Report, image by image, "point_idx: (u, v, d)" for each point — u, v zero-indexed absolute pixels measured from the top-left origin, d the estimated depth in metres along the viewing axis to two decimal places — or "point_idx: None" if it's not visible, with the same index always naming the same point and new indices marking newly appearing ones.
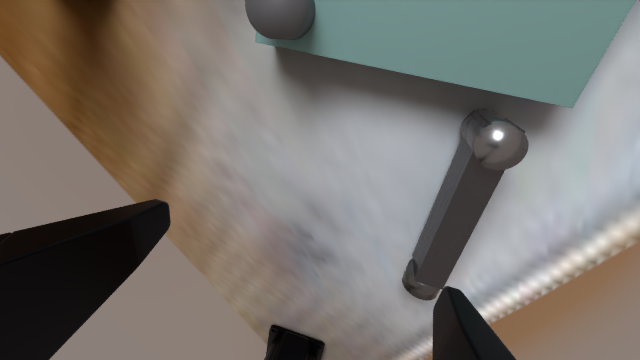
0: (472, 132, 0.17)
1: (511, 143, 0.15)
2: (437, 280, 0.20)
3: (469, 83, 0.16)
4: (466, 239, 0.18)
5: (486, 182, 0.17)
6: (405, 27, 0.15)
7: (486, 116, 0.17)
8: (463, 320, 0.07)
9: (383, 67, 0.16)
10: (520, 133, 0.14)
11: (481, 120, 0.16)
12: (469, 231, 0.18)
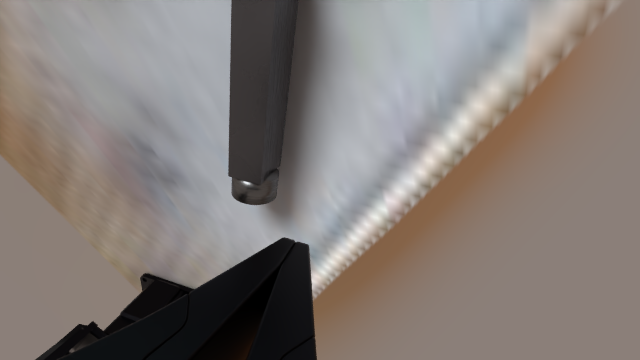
0: None
1: None
2: (252, 172, 0.16)
3: None
4: (265, 102, 0.14)
5: (261, 4, 0.12)
6: None
7: None
8: (285, 264, 0.07)
9: None
10: None
11: None
12: (264, 89, 0.14)
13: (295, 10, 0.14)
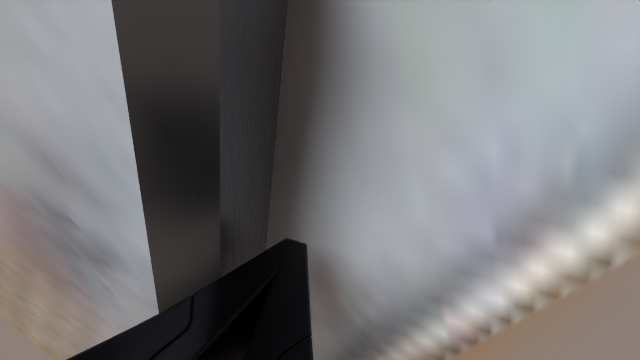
0: None
1: None
2: None
3: None
4: (215, 197, 0.06)
5: None
6: None
7: None
8: (283, 263, 0.07)
9: None
10: None
11: None
12: (212, 170, 0.06)
13: None
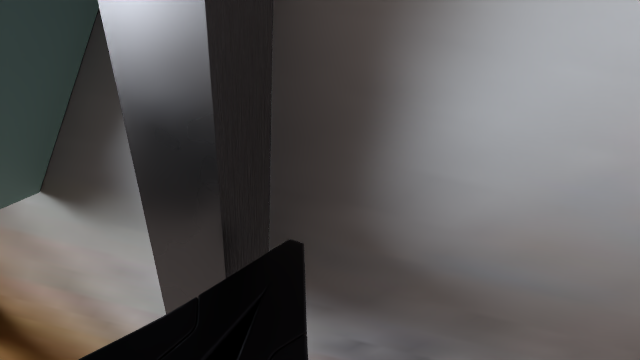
0: None
1: None
2: None
3: None
4: (215, 198, 0.06)
5: None
6: None
7: None
8: (279, 262, 0.07)
9: None
10: None
11: None
12: (209, 170, 0.06)
13: None
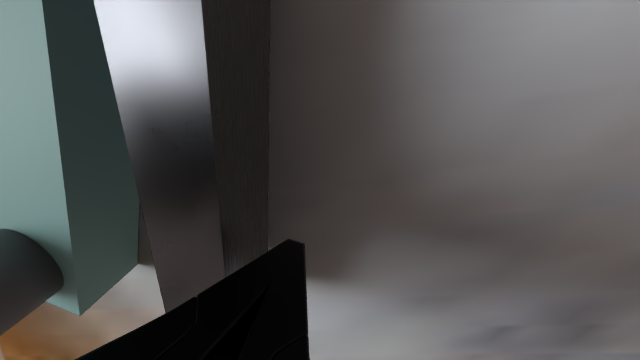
0: None
1: None
2: None
3: None
4: (213, 198, 0.06)
5: None
6: None
7: None
8: (280, 263, 0.07)
9: (56, 139, 0.08)
10: None
11: None
12: (207, 170, 0.06)
13: None
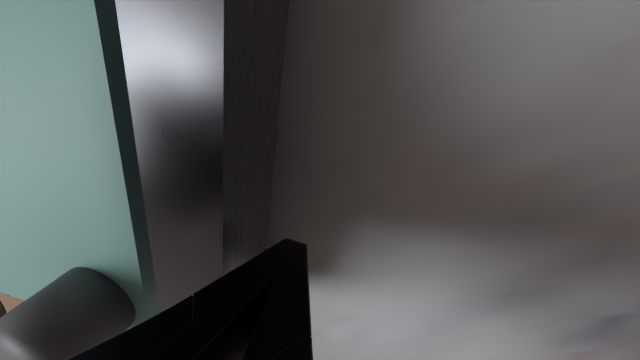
0: None
1: None
2: None
3: None
4: (218, 199, 0.06)
5: None
6: (47, 130, 0.08)
7: None
8: (282, 264, 0.07)
9: (120, 169, 0.08)
10: None
11: None
12: (214, 172, 0.06)
13: None
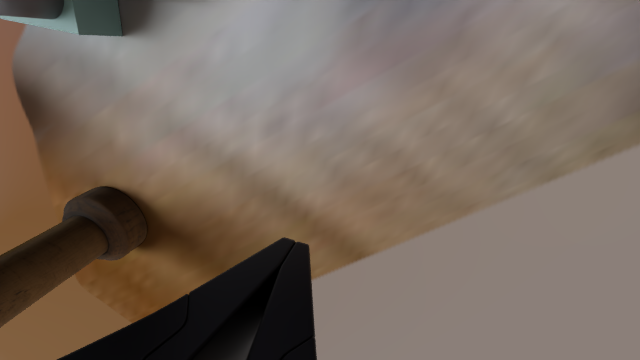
0: None
1: None
2: None
3: None
4: None
5: None
6: None
7: None
8: (285, 264, 0.07)
9: None
10: None
11: None
12: None
13: None
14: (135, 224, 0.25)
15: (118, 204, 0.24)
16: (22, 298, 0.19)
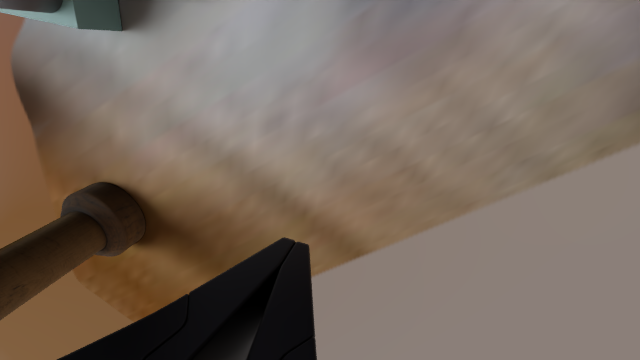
0: None
1: None
2: None
3: None
4: None
5: None
6: None
7: None
8: (285, 264, 0.07)
9: None
10: None
11: None
12: None
13: None
14: (133, 220, 0.25)
15: (117, 200, 0.24)
16: (20, 293, 0.19)
